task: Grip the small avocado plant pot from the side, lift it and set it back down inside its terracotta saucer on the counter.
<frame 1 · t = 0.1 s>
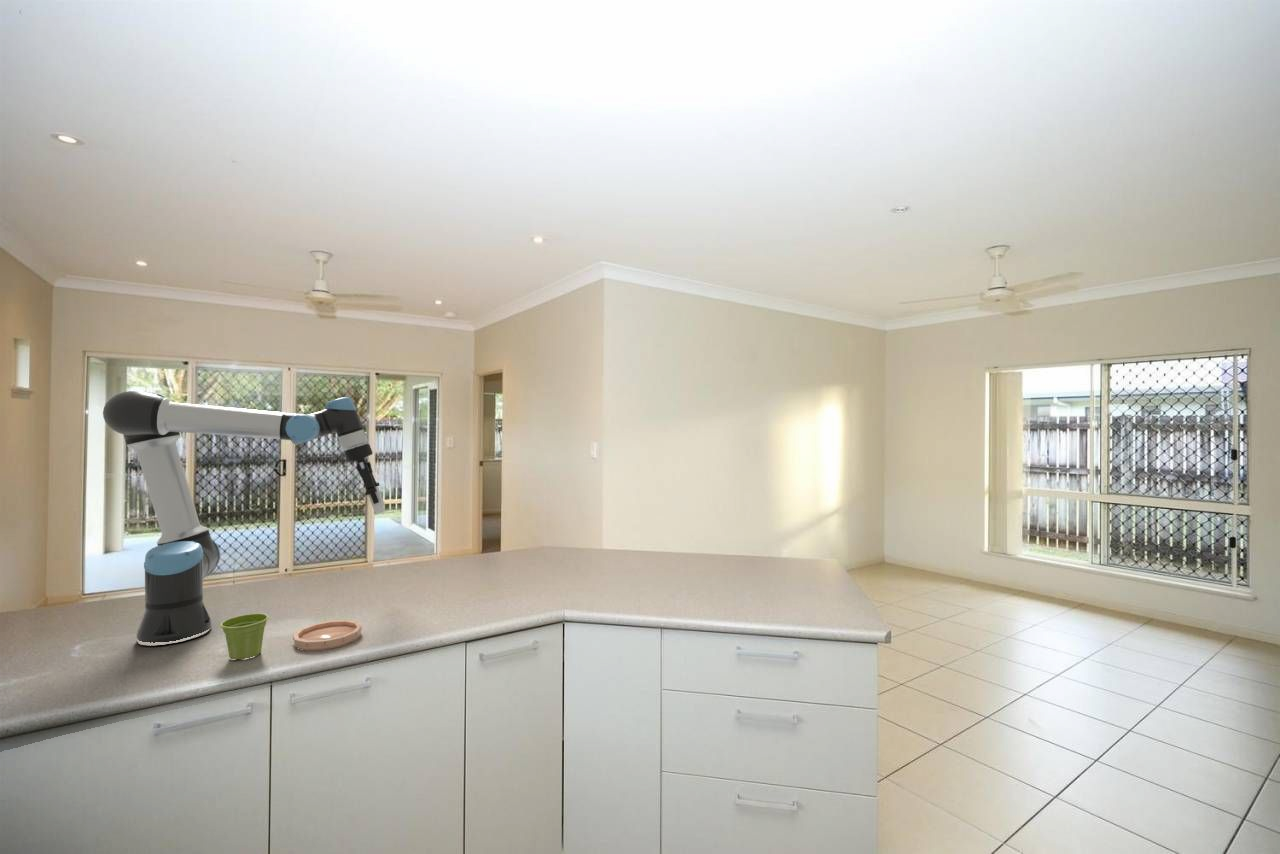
hand: (380, 509, 181), 28 cm above the worktop, tool tilted 20°, fingers open, 13 cm apart
saucer: (328, 639, 147), on the worktop
plant pot: (245, 657, 136), on the worktop
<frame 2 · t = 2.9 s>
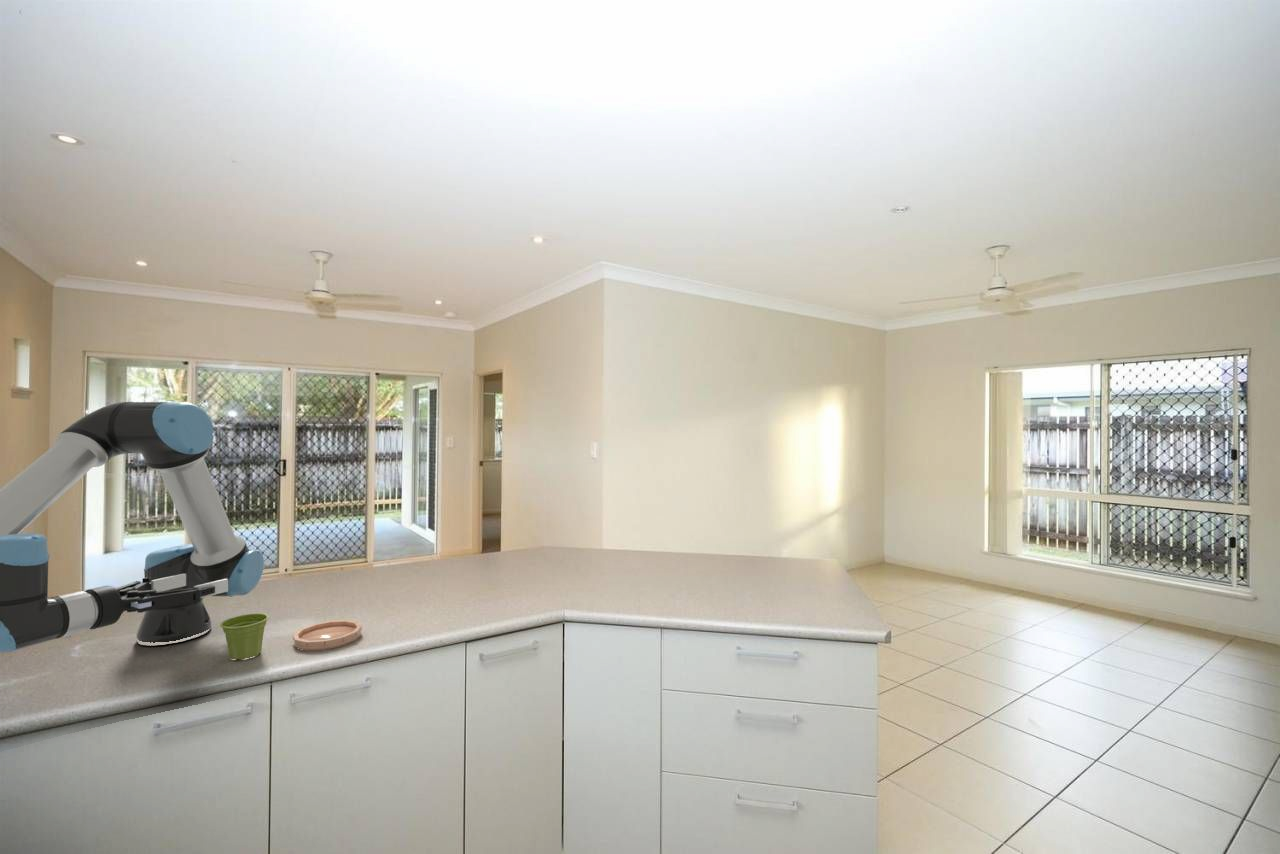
hand: (205, 582, 128), 20 cm above the worktop, tool horizontal, fingers open, 13 cm apart
nothing on the worktop moved.
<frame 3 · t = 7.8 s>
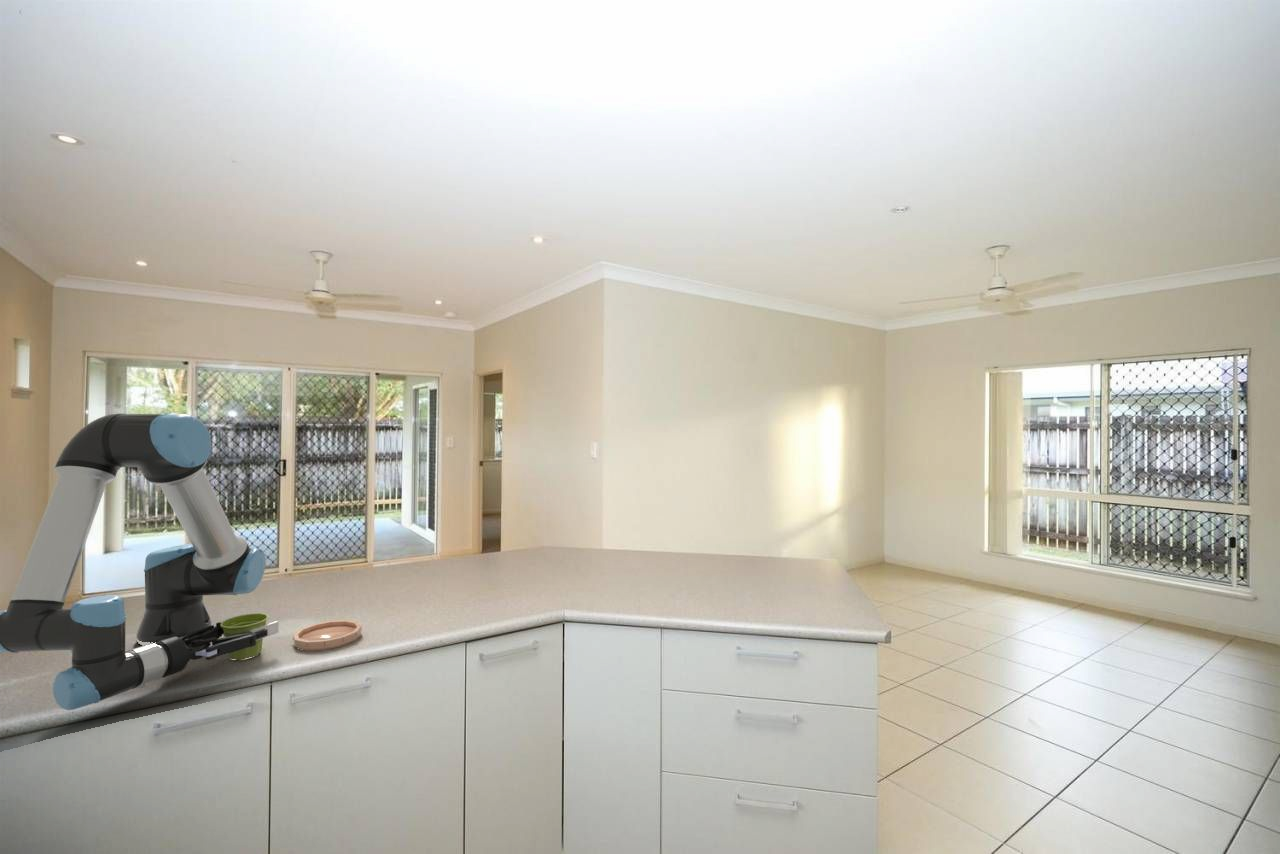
hand: (264, 624, 140), 6 cm above the worktop, tool horizontal, fingers closed on plant pot, 8 cm apart
plant pot: (245, 657, 136), on the worktop, touching gripper
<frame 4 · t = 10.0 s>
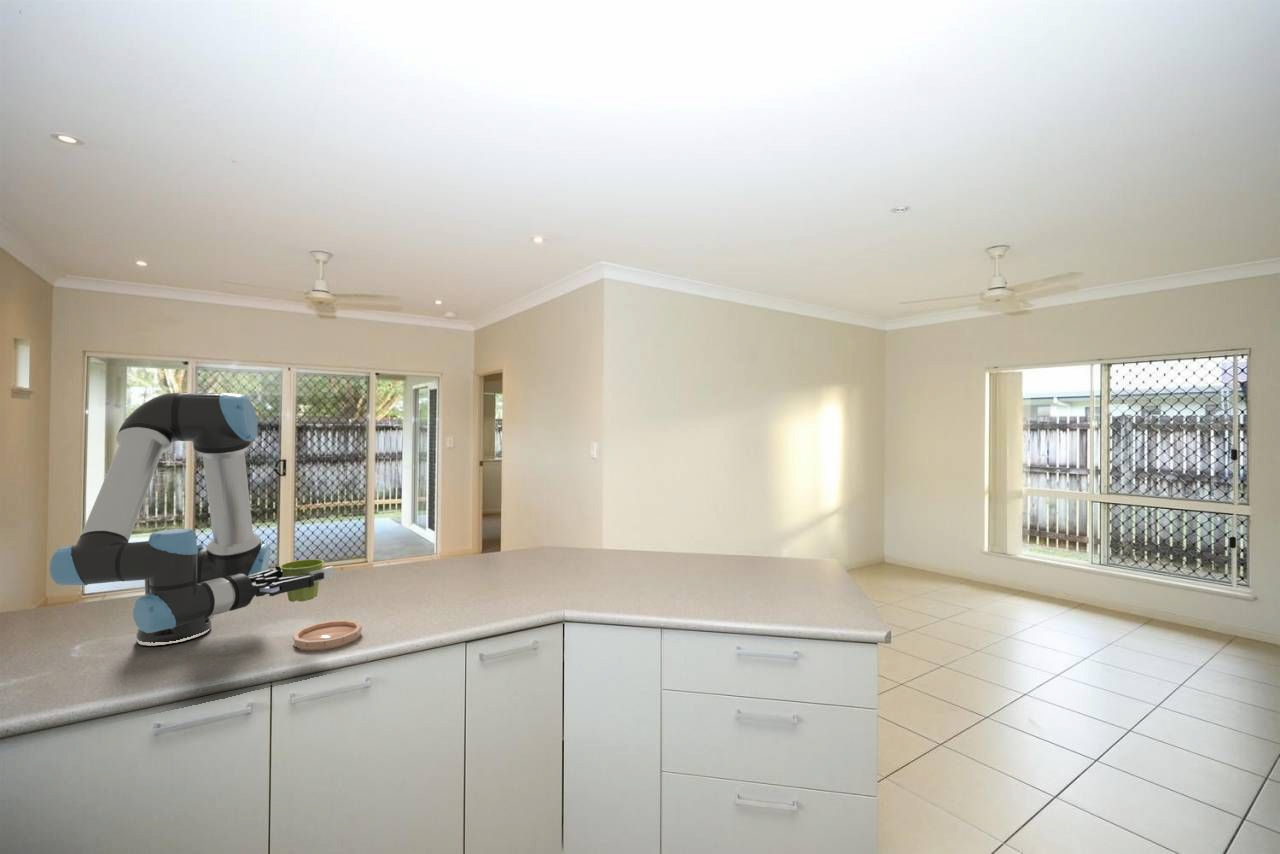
hand: (320, 569, 146), 18 cm above the worktop, tool horizontal, fingers closed on plant pot, 8 cm apart
plant pot: (302, 599, 142), point 12 cm above the worktop, touching gripper
when the fingers open (8 cm above the worktop, at t = 12.7 s): plant pot drops 1 cm, resting on saucer.
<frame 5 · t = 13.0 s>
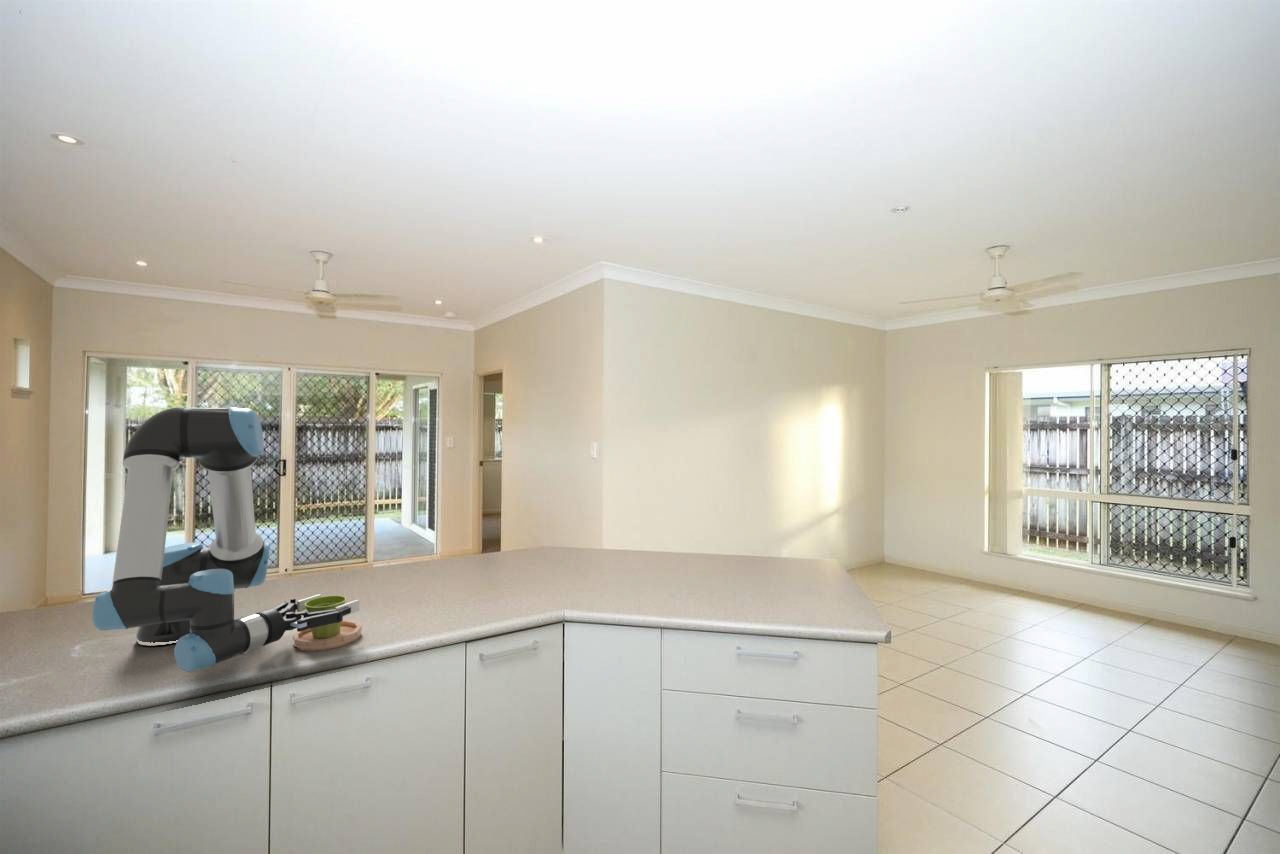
hand: (339, 602, 150), 8 cm above the worktop, tool horizontal, fingers open, 13 cm apart
plant pot: (326, 635, 146), point 1 cm above the worktop, touching saucer
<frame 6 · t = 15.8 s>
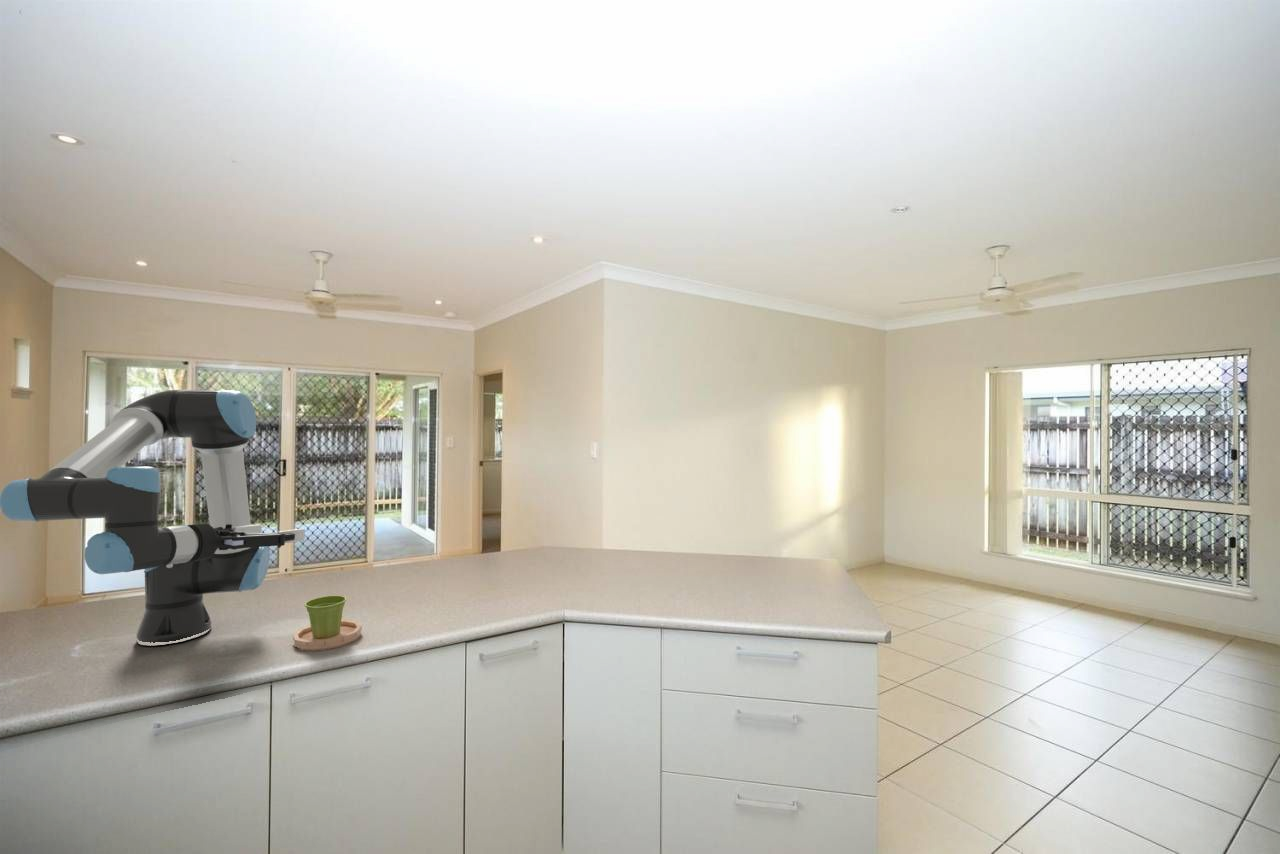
hand: (281, 532, 136), 29 cm above the worktop, tool horizontal, fingers open, 13 cm apart
nothing on the worktop moved.
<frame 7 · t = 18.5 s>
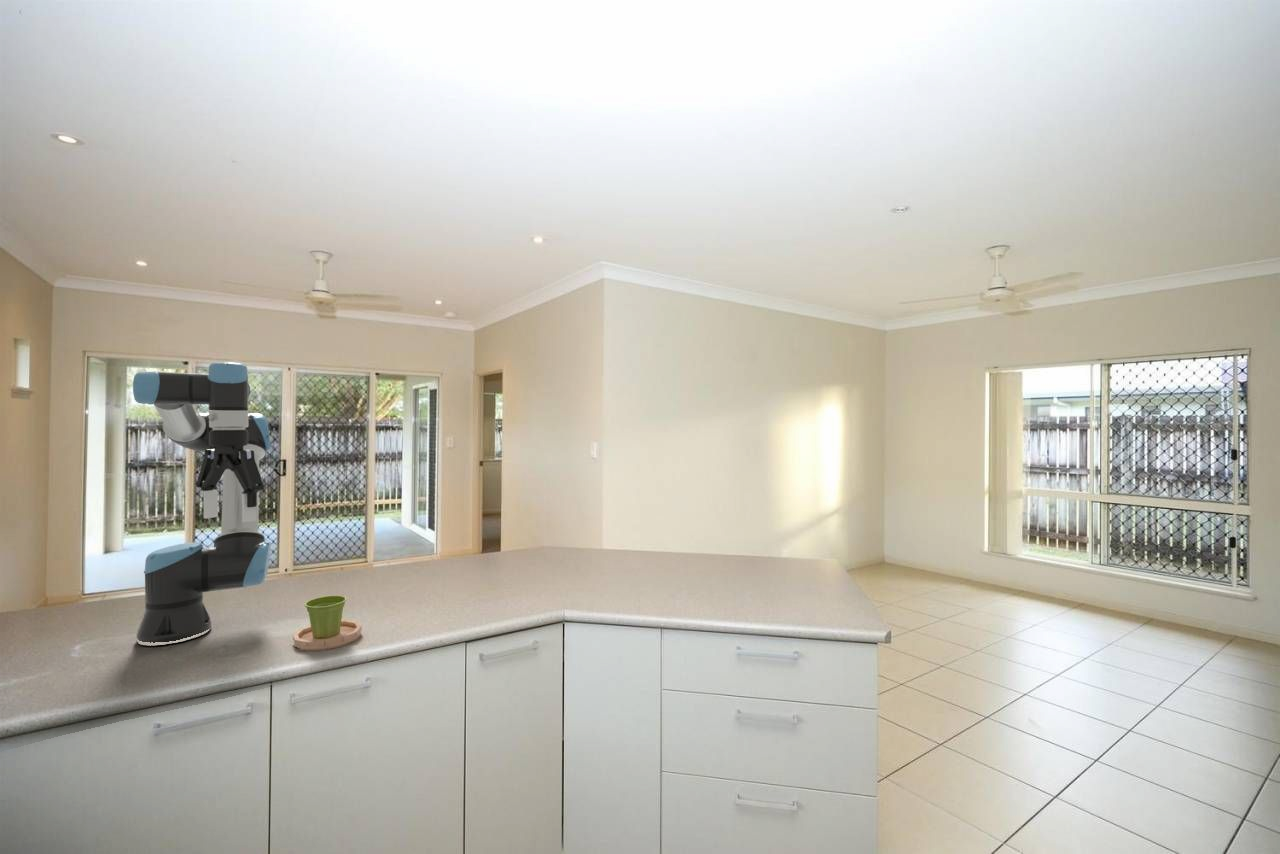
hand: (229, 519, 135), 33 cm above the worktop, tool pointing down, fingers open, 13 cm apart
nothing on the worktop moved.
at the end: plant pot 0.4 cm from the saucer (horizontally); plant pot point 1.0 cm above the worktop; plant pot tilted 0° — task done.
